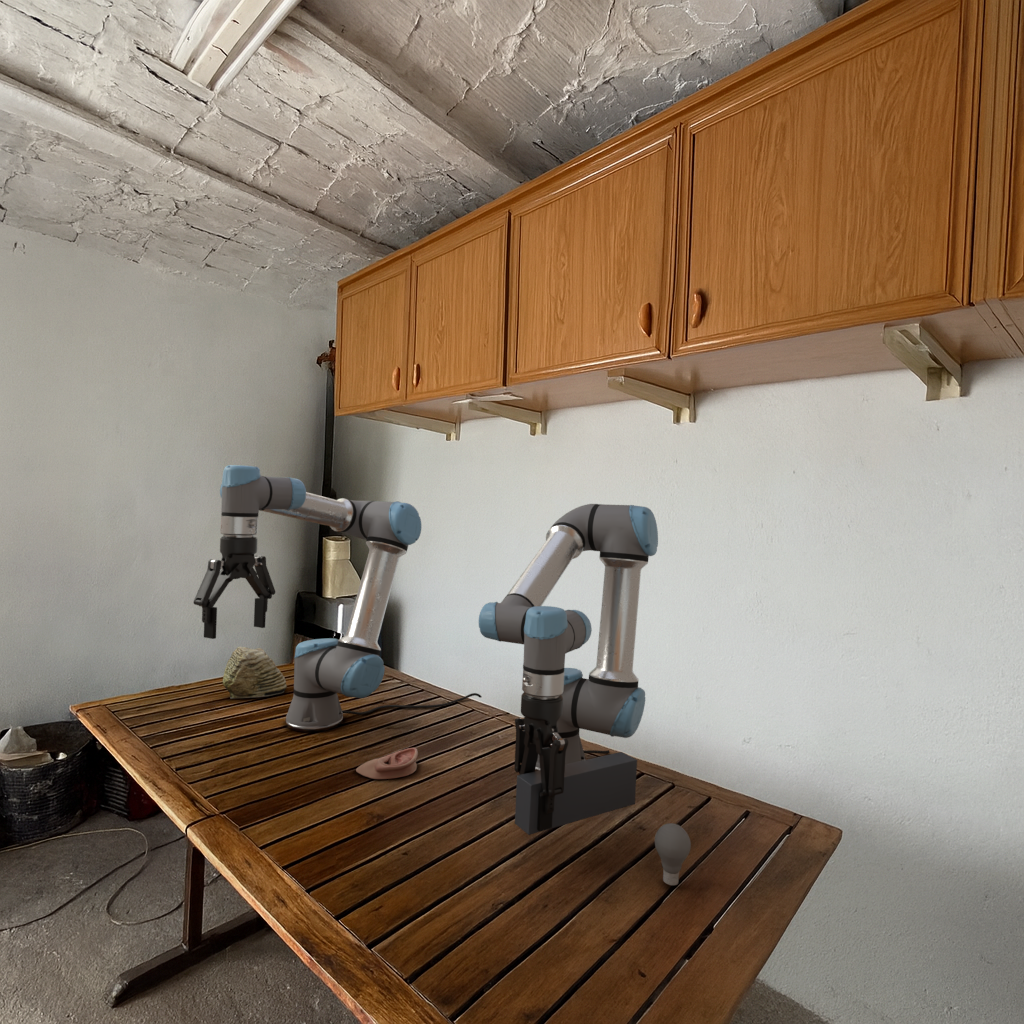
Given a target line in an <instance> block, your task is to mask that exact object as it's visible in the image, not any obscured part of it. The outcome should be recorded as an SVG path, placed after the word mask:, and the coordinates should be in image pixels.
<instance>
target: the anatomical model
mask: <svg viewBox="0 0 1024 1024" xmlns="http://www.w3.org/2000/svg"><path fill="white" fill-rule="evenodd" d="M418 755H419V751H418V749H417V747H408V748H405V749H404V748H403V749H401V750H397V751H395V752H392V753H390V754H387V755H384V756H381V757H378V758H374V759H371V760H368V761H366V762H364V763H362V764H361V765H359V766H358V767H357V768H356V769H355V771H356V773H357V774H359V775H361V776H363V777H366V778H369V779H372V780H387V779H388V780H390V779H398V778H403V777H406V776H409V775H412V774H414V773H415V772H416V771H417V768H418V764H417V762H416V761H417V759H418Z"/></svg>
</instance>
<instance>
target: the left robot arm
mask: <svg viewBox="0 0 1024 1024" xmlns="http://www.w3.org/2000/svg"><path fill="white" fill-rule="evenodd" d="M219 495H220V498H221V508H220V509H221V511H220V512H221V515H220V531H219V533H220V534H221V535H222V536H221V537H220V538H219V552H220V554H221V559H212V558H210V559H209V560H208V562H207V569H206V572H205V574H204V577H203V579H202V581H201V583H200V585H199V588H198V590H197V593H196V594H195V597H194V599H193V605H195V606H199V607H201V622H202V623H203V638H205V639H212V640H214V639H216V638H217V624H218V623H217V622H218V621H217V620H218V619H217V618H218V607H217V606H215V605H216V603H217V602H218V600H219V599H220V597H221V596H222V595H223V593H224V591H225V590H226V588H227V587H228V586H229V584H230V583H232V582H233V580H238V579H245V580H246V582H247V583H248V584H249V585H250V587H251V589H252V590H253V591H254V593H255V595H256V596H257V597H255V598H254V610H253V612H254V613H253V627H254V628H259V629H260V628H261V629H265V628H266V618H267V617H266V616H267V615H266V614H267V612H268V602H269V600H271V599H272V598H273V596H274V595H275V594H276V589H275V587H274V584H273V580H272V577H271V575H270V572H269V569H268V566H267V558H266V556H264V555H255V554H257V553H258V537H256V535H258V532H259V512H265V513H270V514H273V515H274V514H275V515H278V516H283V517H287V518H291V519H296V520H301V521H305V522H310V523H315V524H319V525H322V526H327V527H329V528H331V530H333V531H334V532H338V533H342V534H346V535H348V536H351V537H355V538H358V539H361V540H364V541H365V544H366V546H367V547H368V550H369V551H368V554H367V558H366V561H365V564H364V568H363V571H362V576H361V580H360V583H359V586H358V590H357V594H356V598H355V601H354V605H353V608H352V612H351V615H350V619H349V622H348V626H347V629H346V632H345V635H344V636H342V637H341V638H339V639H338V638H335V637H334V638H332V637H329V638H315V639H308V640H304V641H302V642H299V643H298V644H297V645H296V646H295V652H294V653H295V654H294V656H293V659H294V661H293V662H294V663H293V664H294V668H293V695H292V696H293V697H292V699H291V702H290V704H289V708H288V711H287V713H286V715H285V726H286V728H287V729H289V730H291V731H294V732H295V731H296V732H301V733H316V732H325V731H329V730H332V729H335V728H337V727H339V726H340V725H342V723H343V722H344V714H349V715H356V716H363V715H368V714H371V713H373V712H375V711H378V710H380V709H382V710H383V709H389V708H390V709H391V708H395V709H396V708H397V709H432V708H440V707H441V708H442V707H446V706H450V705H453V704H456V703H457V702H458V703H459V702H462V701H464V700H467V699H468V698H471V697H474V696H475V697H478V698H483V696H482V695H481V694H479V693H476V692H473V693H469V694H467V695H465V696H463V697H459V698H456V699H453V700H451V701H448V702H445V703H439V704H427V705H424V704H423V705H422V704H421V705H405V704H404V705H401V704H399V705H398V704H385V705H380V706H376V707H374V708H371V709H369V710H366V711H354V710H344V709H342V706H341V702H340V699H339V695H338V694H340V695H343V696H344V697H347V698H355V699H365V698H367V697H370V695H372V694H373V693H374V692H375V691H377V690H378V688H379V686H380V685H381V683H382V681H383V679H384V675H385V671H386V670H385V665H384V660H383V658H381V656H380V655H381V651H382V649H381V647H380V645H379V643H378V640H379V636H380V633H381V630H382V625H383V622H384V618H385V613H386V610H387V607H388V603H389V599H390V595H391V592H392V588H393V583H394V580H395V577H396V573H397V569H398V565H399V562H400V558H401V557H403V556H405V555H406V554H407V553H408V549H409V546H412V545H413V544H415V543H416V542H417V541H418V540H419V538H420V536H421V532H422V519H421V516H420V514H419V511H418V509H416V507H415V506H414V505H412V504H411V503H408V502H401V501H398V500H397V501H385V500H383V501H382V500H354V499H353V500H352V499H348V498H345V497H344V498H343V497H342V498H338V499H334V498H330V497H326V496H322V495H320V494H316V493H312V492H307V488H306V486H305V484H304V482H303V481H302V480H301V479H299V478H296V477H295V478H294V477H290V476H287V477H285V476H266V475H265V476H264V475H262V474H261V469H260V468H259V466H254V465H241V464H240V465H239V464H228V465H226V466H225V467H224V468H223V471H222V480H221V484H220V487H219Z"/></svg>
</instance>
